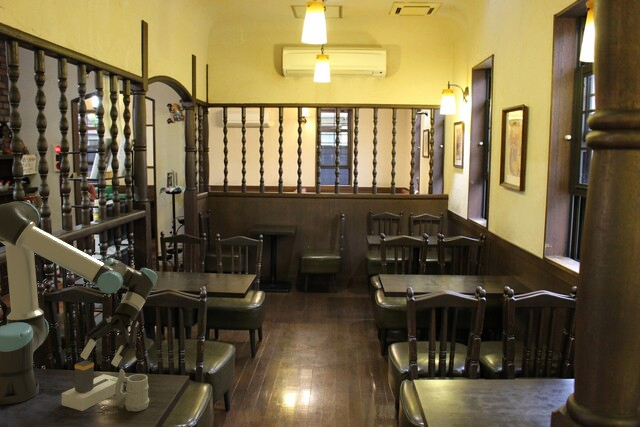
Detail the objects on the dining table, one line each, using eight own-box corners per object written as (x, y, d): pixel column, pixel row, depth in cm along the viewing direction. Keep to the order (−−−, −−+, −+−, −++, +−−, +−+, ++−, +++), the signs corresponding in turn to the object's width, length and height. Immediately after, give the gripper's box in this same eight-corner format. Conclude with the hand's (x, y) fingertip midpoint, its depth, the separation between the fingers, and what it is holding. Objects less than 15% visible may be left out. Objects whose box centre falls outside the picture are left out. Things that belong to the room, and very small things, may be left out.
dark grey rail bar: (104, 383, 189) (104, 379, 189) (106, 381, 190) (106, 378, 190) (130, 389, 184) (130, 386, 184) (132, 388, 186) (132, 385, 185)
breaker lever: (74, 390, 172) (74, 364, 171) (84, 386, 176) (84, 360, 175) (83, 393, 171) (84, 366, 170) (93, 388, 175) (93, 362, 174)
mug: (141, 413, 168) (142, 377, 167) (108, 408, 170) (108, 373, 169) (153, 403, 175) (154, 368, 174) (121, 398, 177) (122, 364, 176)
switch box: (61, 405, 171) (61, 392, 171) (103, 384, 187) (103, 373, 187) (82, 411, 168) (82, 398, 167) (123, 389, 184) (123, 378, 184)
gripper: (162, 317, 187) (133, 372, 175) (108, 307, 196) (76, 359, 184) (152, 306, 182) (121, 362, 169) (97, 297, 191) (64, 349, 179)
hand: (98, 361), depth 177 cm, fingers open, 13 cm apart
